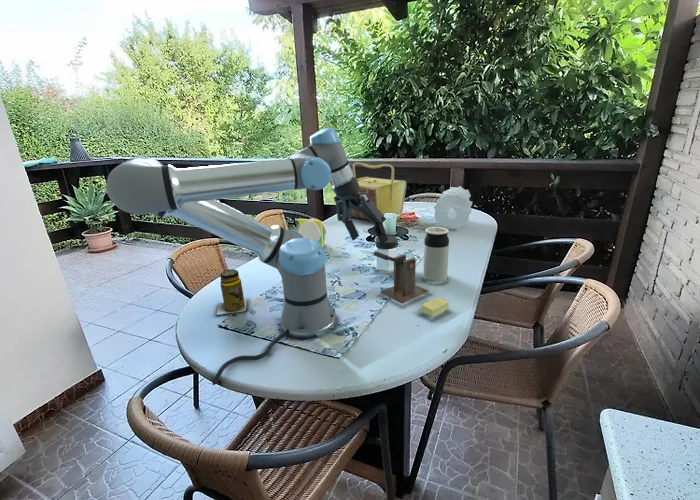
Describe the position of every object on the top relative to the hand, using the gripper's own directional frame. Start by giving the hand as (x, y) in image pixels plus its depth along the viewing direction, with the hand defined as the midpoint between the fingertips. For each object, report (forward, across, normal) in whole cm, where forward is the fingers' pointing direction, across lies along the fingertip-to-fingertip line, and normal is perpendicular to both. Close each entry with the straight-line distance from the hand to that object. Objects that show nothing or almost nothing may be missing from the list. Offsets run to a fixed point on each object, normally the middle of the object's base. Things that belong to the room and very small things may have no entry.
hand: (369, 239), depth 117 cm
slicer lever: (+5, -11, +4) cm, 13 cm away
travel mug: (+24, -10, -11) cm, 28 cm away
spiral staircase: (+41, +25, -70) cm, 85 cm away
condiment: (-1, +22, +43) cm, 48 cm away
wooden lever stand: (+18, -10, +4) cm, 21 cm away
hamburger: (+14, +52, -8) cm, 55 cm away
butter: (+19, -24, +7) cm, 31 cm away
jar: (+20, +9, -8) cm, 23 cm away
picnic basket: (+30, +66, -56) cm, 91 cm away
